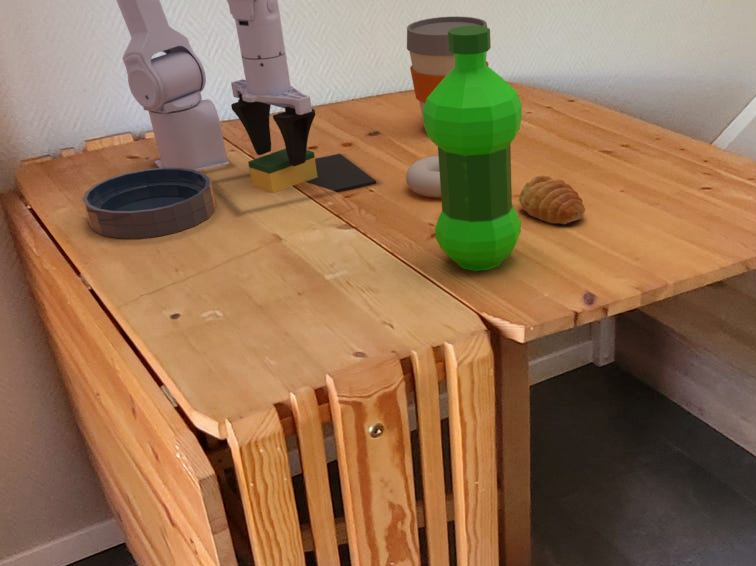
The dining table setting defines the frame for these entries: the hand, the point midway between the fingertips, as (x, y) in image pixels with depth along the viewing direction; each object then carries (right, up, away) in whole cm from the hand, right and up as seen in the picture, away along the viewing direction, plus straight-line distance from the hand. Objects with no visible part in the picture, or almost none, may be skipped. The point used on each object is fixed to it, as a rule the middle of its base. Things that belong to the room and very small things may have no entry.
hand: (280, 158), depth 134 cm
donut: (+23, -5, -1) cm, 23 cm away
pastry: (+37, -11, -10) cm, 40 cm away
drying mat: (+1, -3, +3) cm, 4 cm away
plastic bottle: (+28, -20, -21) cm, 40 cm away
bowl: (-16, -10, -6) cm, 19 cm away
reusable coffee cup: (+23, +11, +19) cm, 33 cm away
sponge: (0, -3, +2) cm, 3 cm away
